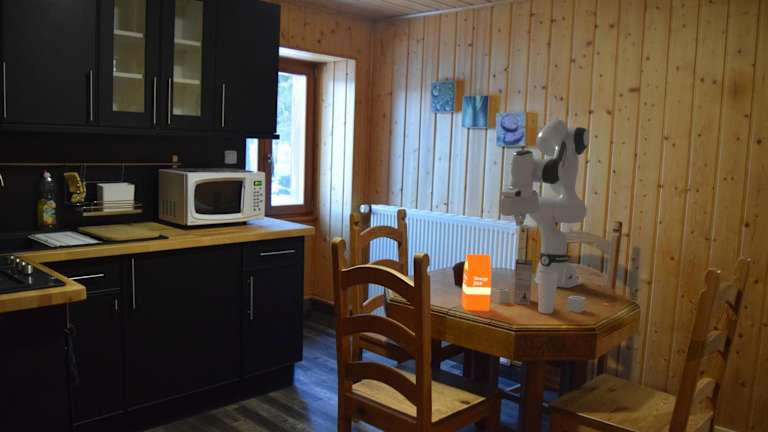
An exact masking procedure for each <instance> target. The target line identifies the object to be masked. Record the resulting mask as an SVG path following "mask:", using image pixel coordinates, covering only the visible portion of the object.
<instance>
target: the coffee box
mask: <svg viewBox="0 0 768 432" xmlns="http://www.w3.org/2000/svg"><path fill="white" fill-rule="evenodd" d="M532 277H533V260H532V259H523V258H522V259H517V258H516V259H515V267H514V282H513V283H514V284H513V285H514V286H513V304H518V305H530V304H531V291H532V290H531V289H532Z"/></svg>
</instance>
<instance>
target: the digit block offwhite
mask: <svg viewBox="0 0 768 432" xmlns="http://www.w3.org/2000/svg"><path fill="white" fill-rule="evenodd" d="M566 303H567V305H566V311H568V312H572V311H573V312H572V313H577V312H578V314H580V312H581V313H582V311H583V312H584V310H585V311H586V297H584V296H578V295H570V296H568V297H567V302H566Z"/></svg>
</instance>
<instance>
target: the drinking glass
mask: <svg viewBox="0 0 768 432" xmlns="http://www.w3.org/2000/svg"><path fill="white" fill-rule="evenodd" d="M557 274H558V273H557V272H553V271H539V275H538V284H537V294H538V295H537V297H538V300H537V304H538V305H537V306H538V307H537V309H538V310H537V311H538V313H540V314H544V315H549V314H550V315H551V314H553V313H554V306H555V298H556V294H557V293H556V291H557V288H558V287H557Z"/></svg>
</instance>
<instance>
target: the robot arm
mask: <svg viewBox="0 0 768 432" xmlns="http://www.w3.org/2000/svg"><path fill="white" fill-rule="evenodd" d="M535 144H536V147H537V149H538V150H539V152H540V153H541V154H542V155H544V156H549V157H553V158H535V157H534V153H533V151H531V150H527V149H522V150H516V151H514V153H513V155H512V159H511V165H510V166H511V169H510V174H511V181H510V183H509V184H510V185H509V186H508V187H506V188H504V189H503V190H501V193H500V194H501V199H500V214H501V216H505V217H509V216H510V217H511V216H513V218H514V221H515V226H517V227H520V226H524V225H525V220H526V217H527V215H528V216H529V217H530V218H531V219H532V220H533V221H534V222H535V223H536V225H537V226H538V229H539V231H540V237H541V238H540V239H541V242H540V243H541V246H540V247H541V248H540V252H539V256H538V257H539V262H538V264H537V268H536V273H535V275H536V276H535V277H534V278H533V280H534V282H535V284H537V285H538V275H539V271H553V272H557V273H558V274H557V287H556V288H565V289H566V288H567V289H569V288H570V289H571V288H573V287H576V286H578V285H582V284H583V281H582V280H579V279H578V271H577V269H576V268H575V267H574V266H573V265H572V264H571V263H570V261H569V260H570V259H572V258H573V254H572V253H567V249H568V236H567V234H565V232H563V231H562V230H560V229H558V227H557V226H556V223H563V224H577V223H581V222H583V221H584V219H585V218H586V217H587V213H588V212H587V211H588V210H587V209H588V208H587V205H586V204H585V202H584V201H583V200H581V199H580V197H578V195H577V190H576V184H577V178H578V173H579V166H580V165H579V164H580V160H579V156H581V155H582V154H583V152H584V151H585V150H586V149H587V148H588V147H589V144H590V135H589V131H588V130H587V129H586V127H581V126H577V127H568V125H567V123H566V122H565V121H563V120H561V119H559V118H556V119H552V120H550V121H549V122H547V123H546V124H545V125H544V126H543V128H541V130H540V131H539V133H538V134H537V137H536V139H535ZM534 183H540V184H547V185H548V184H549V187H550V189H551V190H552V192H554V193H555V194H557V195H559V196H558V197H556V196H555V197H554V196H539V193H538V192H537V190H534Z"/></svg>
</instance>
